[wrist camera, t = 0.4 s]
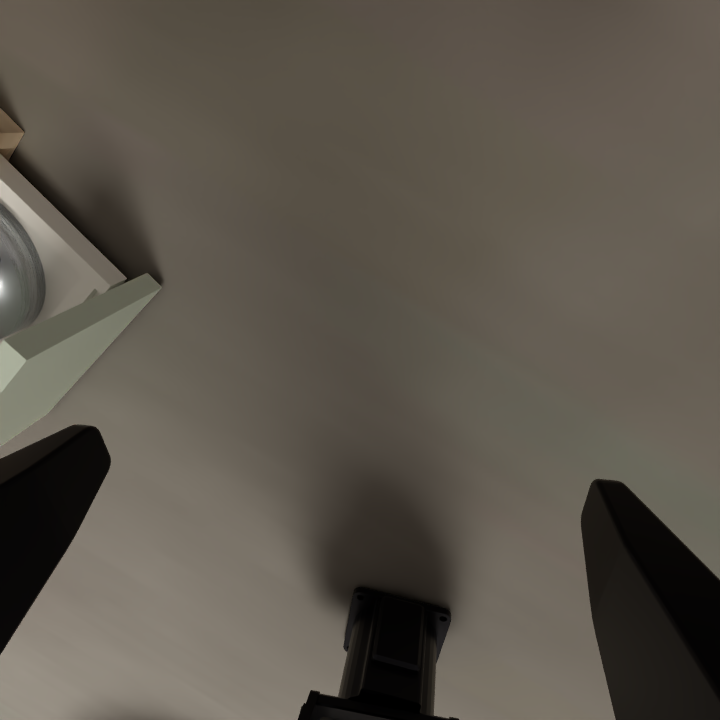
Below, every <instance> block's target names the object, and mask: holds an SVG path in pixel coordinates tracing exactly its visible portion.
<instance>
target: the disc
mask: <svg viewBox="0 0 720 720" xmlns="http://www.w3.org/2000/svg"><path fill="white" fill-rule="evenodd" d="M45 294H46V283H45V275H44V271H43V266H42V263H41V260H40V257H39V254H38V252H37V250H36V248H35V246H34V244H33V242H32V240H31V239H30V237H29V235H28V234H27V232H26V231H25V229H24V228H23V226H22V225H21V224H20V223H19V221H18V220H17V219H16V218H15V217H14V216H13V214H12V213H11V212H10V211H9V210H7V209H6V208H5V207H4V206H3V205H2V204H1V203H0V339H2V338H4V337H7V336H9V335H11V334H13V333H15V332H18V331H20V330H22V329H24V328H26V327H28V326H29V325H30V324H32V323H33V322H34V321H35V320H36V318H37V317H38V316H39V314H40V312H41V310H42V307H43V304H44V301H45Z"/></svg>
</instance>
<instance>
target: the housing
mask: <svg viewBox="0 0 720 720" xmlns="http://www.w3.org/2000/svg"><path fill="white" fill-rule="evenodd" d="M24 133H25V132H24V131H23V130H22V129H21V128H20V127H19V126H18V125H17V124H16V123H15V122H14V121H13V120H12V119H11V118H10V117H9V116H8V115H7V114H6V113H5V112H4V111H3V110H2V109H1V108H0V154H1V155H2V156H3V157H4V158H5V159H6V160H7V161H9V159H10V157H11V155H12V154H13V152H14V150H15V149H16V147H17V145H18V143H19V142H20V140H21V138H22V137H23V135H24Z"/></svg>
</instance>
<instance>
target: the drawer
mask: <svg viewBox="0 0 720 720" xmlns="http://www.w3.org/2000/svg"><path fill="white" fill-rule="evenodd" d="M0 203H1V204H2V205H3V206H4V207H5V208H6V209H7V210H9V211H10V212H11V213H12V214H13V216H14V217H15V218H16V219H17V220H18V221H19V223H20V224H21V225H22V226H23V228H24V229H25V231H26V232H27V234H28V235H29V237H30V239H31V240H32V242H33V244H34V246H35V248H36V250H37V252H38V254H39V257H40V260H41V263H42V266H43V271H44V275H45V283H46V294H45V301H44V304H43V307H42V310H41V312H40V314H39V316H38V317H37V318H36V320H35V321H34V322H33V323H32V324H30V325H29V326H28V327H26V328H24V329H22V330H20V331H18V332H15V333H13V334H11V335H9V336H7V337H4V338H2V339H0V447H1V446H2V445H4V444H5V443H7V442H8V441H9V440H11V439H12V438H14V437H15V436H17V435H18V434H19V433H21V432H22V431H24V430H25V429H27V428H28V427H30V426H31V425H32V424H34V423H35V422H37V421H38V420H40V419H41V418H42V417H44V416H45V415H47V414H48V413H49V412H50V411H51V409H52V408H53V407H54V406H55V405H56V404H57V403H58V402H59V401H60V400H61V398H62V397H63V396H64V395H65V394H66V393H67V392H68V391H69V390H70V388H71V387H72V386H73V385H74V384H75V383H76V382H77V381H78V380H79V379H80V377H81V376H82V375H83V374H84V373H85V372H86V371H87V370H88V369H89V368H90V366H91V365H92V364H93V363H94V362H95V361H96V360H97V359H98V358H99V356H100V355H101V354H102V353H103V352H104V351H105V350H106V349H107V348H108V347H109V345H110V344H111V343H112V342H113V341H114V340H115V339H116V338H117V337H118V335H119V334H120V333H121V332H122V331H123V330H124V329H125V328H126V327H127V326H128V324H129V323H130V322H131V321H132V320H133V319H134V318H135V317H136V316H137V315H138V313H139V312H140V311H141V310H142V309H143V308H144V307H145V306H146V305H147V303H148V302H149V301H150V300H151V299H152V298H153V297H154V296H155V295H156V294H157V292H158V291H159V290H160V289H161V288H162V287H161V286H160V285H159V284H158V283H157V282H156V281H155V280H154V279H153V278H152V277H151V276H150V275H149V274H148V273H145V274H143V275H141V276H139V277H137V278H135V279H133V280H131V281H128V282H126V283H124V282H125V280H126V279H127V278H126V277H125V276H124V275H123V274H122V273H121V272H120V271H119V270H118V269H117V268H116V267H115V266H114V265H113V264H112V263H111V262H110V261H109V260H108V259H107V258H106V257H105V256H104V255H103V254H102V253H101V252H100V251H99V250H98V249H97V248H96V247H95V246H94V245H93V244H92V243H91V242H90V241H89V240H87V239H86V238H85V237H84V236H83V235H82V234H81V233H80V232H79V231H78V230H77V229H76V228H75V227H74V226H73V225H72V224H71V223H70V222H69V221H68V220H67V219H66V218H65V217H64V216H63V215H62V214H61V213H60V212H59V211H58V210H57V209H56V208H55V207H54V206H53V205H52V204H51V203H50V202H49V201H48V200H47V199H46V198H45V197H44V196H43V195H42V194H41V193H40V192H39V191H38V190H37V189H36V188H35V187H34V186H33V185H32V184H31V183H30V182H29V181H28V180H27V179H25V178H24V177H23V176H22V175H21V174H20V173H19V172H18V171H17V170H16V169H15V168H14V167H13V166H12V165H11V164H10V163H9V162H8V161H7V160H6V159H5V158H4V157H3V156H2V155H1V154H0ZM123 283H124V284H123Z"/></svg>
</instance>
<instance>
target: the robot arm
mask: <svg viewBox="0 0 720 720" xmlns="http://www.w3.org/2000/svg"><path fill="white" fill-rule="evenodd" d="M110 464H111V458H110V455H109V452H108V450H107V448H106V445H105V443H104V440H103V438H102V436H101V433H100V431H99V430H98V429H97V428H96V427H94V426H88V425H72V426H69V427H67V428H65V429H63V430H61V431H59V432H57V433H55V434H52V435H50V436H48V437H46V438H44V439H42V440H40V441H37V442H35V443H33V444H31V445H29V446H27V447H25V448H23V449H20V450H18V451H16V452H14V453H12V454H10V455H8V456H6V457H3V458H1V459H0V655H1V653H2V651H3V650H4V648H5V647H6V645H7V644H8V642H9V640H10V639H11V637H12V636H13V634H14V633H15V631H16V629H17V628H18V626H19V625H20V623H21V621H22V620H23V618H24V617H25V615H26V614H27V612H28V610H29V609H30V607H31V606H32V604H33V603H34V601H35V599H36V598H37V596H38V595H39V593H40V591H41V590H42V588H43V587H44V585H45V584H46V582H47V580H48V579H49V577H50V576H51V574H52V573H53V571H54V569H55V568H56V566H57V565H58V563H59V562H60V560H61V558H62V557H63V555H64V554H65V552H66V550H67V549H68V547H69V545H70V544H71V542H72V540H73V539H74V537H75V535H76V533H77V531H78V529H79V527H80V525H81V524H82V522H83V520H84V518H85V516H86V514H87V512H88V510H89V508H90V506H91V504H92V502H93V500H94V498H95V496H96V494H97V492H98V490H99V488H100V486H101V484H102V482H103V480H104V478H105V477H106V475H107V473H108V471H109V468H110ZM581 530H582V538H583V547H584V555H585V563H586V572H587V580H588V589H589V597H590V605H591V612H592V619H593V624H594V629H595V634H596V638H597V642H598V647H599V651H600V655H601V659H602V664H603V668H604V672H605V676H606V680H607V685H608V689H609V693H610V697H611V702H612V706H613V710H614V714H615V718H616V720H720V580H719V579H718V578H717V577H716V576H715V575H714V574H713V572H712V571H711V570H710V569H709V568H708V567H707V566H706V565H705V564H704V563H703V562H702V561H701V560H700V559H699V558H698V557H697V556H696V555H695V554H694V553H693V552H692V551H691V550H690V549H689V548H688V547H687V546H686V545H685V544H684V543H683V542H682V541H681V540H680V539H679V538H678V537H677V536H676V535H675V534H674V533H673V532H672V531H671V530H670V529H669V528H668V527H667V526H666V525H665V524H664V523H663V522H662V521H661V520H660V519H659V518H658V517H657V516H656V515H655V514H654V513H653V512H652V511H651V510H650V509H649V508H648V507H647V506H646V505H645V504H644V503H643V502H642V501H641V500H640V499H639V498H638V497H637V496H636V495H635V494H634V493H633V492H632V491H631V490H630V489H629V488H628V487H627V486H626V485H625V484H623V483H622V482H620V481H614V480H604V479H595V480H594V481H593V482H592V483H591V485H590V488H589V492H588V495H587V498H586V501H585V504H584V507H583V511H582V515H581ZM450 622H451V612H450V611H449V610H447V609H445V608H441V607H437V606H433V605H429V604H425V603H421V602H417V601H413V600H410V599H406V598H402V597H398V596H394V595H390V594H386V593H382V592H378V591H374V590H370V589H366V588H362V587H358V588H356V589H355V590H354V593H353V598H352V603H351V609H350V614H349V619H348V625H347V630H346V636H345V641H344V646H343V647H344V649H345V650H346V651H347V652H348V653H347V657H346V662H345V667H344V671H343V676H342V681H341V685H340V690H339V695H338V697H335V696H330V695H324V694H320V692H319V691H313V690H311V691H310V694H309V696H308V699H307V702H306V704H305V703H304V704H303V706H302V707H301V711H300V714H299V718H298V720H459V719H458V718H453V717H449V719H448V718H443V717H438V716H434V697H435V674H436V663H437V660H438V657H439V654H440V651H441V648H442V645H443V643H444V640H445V637H446V634H447V631H448V628H449V625H450Z"/></svg>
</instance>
